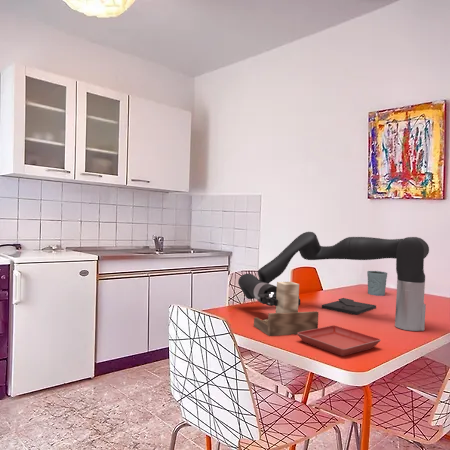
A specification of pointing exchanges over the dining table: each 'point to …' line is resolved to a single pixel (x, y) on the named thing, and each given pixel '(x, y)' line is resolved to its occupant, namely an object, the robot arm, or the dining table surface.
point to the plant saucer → (338, 340)
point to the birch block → (287, 297)
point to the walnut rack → (287, 323)
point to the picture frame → (349, 306)
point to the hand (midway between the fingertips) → (288, 302)
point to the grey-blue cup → (376, 282)
